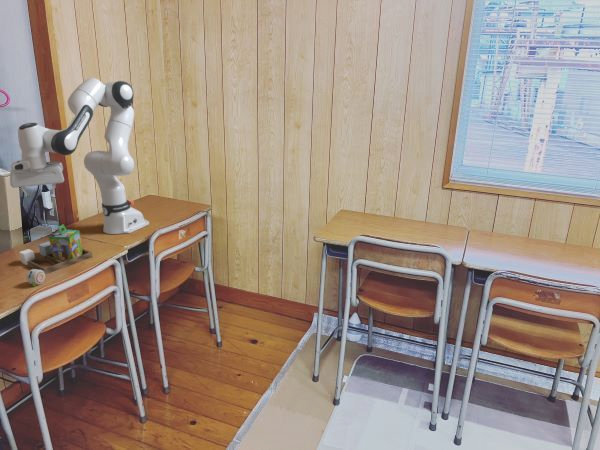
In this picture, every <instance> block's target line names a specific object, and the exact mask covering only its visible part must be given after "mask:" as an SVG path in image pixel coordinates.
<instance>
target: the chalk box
mask: <svg viewBox="0 0 600 450" xmlns="http://www.w3.org/2000/svg"><path fill="white" fill-rule="evenodd" d="M57 229H58V230H57V231H56V232H54V233H52V234H51V235H49V236H48V240H49V241H50V245H51V250H52V255H53V258H55V259H57V260H59V261H61V262H64V261H67V260H70V259H72V258H75V257H78V256H81V255H83V249H84V248H83V246H82V245H83V244H82V237H81V232H80V230H79V229H77V230H76V229H67V228H66V226H65V224H61V225H60V226H58V227H57Z"/></svg>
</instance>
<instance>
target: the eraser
mask: <svg viewBox="0 0 600 450" xmlns="http://www.w3.org/2000/svg"><path fill="white" fill-rule="evenodd" d="M18 253H19V258H20V262H21V264H22V265H25V266H28V262H27V261H29V260H32V259H35V258H36V257H35V252H34V250H32V249H29V248H28V249H25V250H22V251H19V252H18Z"/></svg>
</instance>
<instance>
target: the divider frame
mask: <svg viewBox="0 0 600 450" xmlns="http://www.w3.org/2000/svg"><path fill="white" fill-rule="evenodd" d="M82 249H83V255H81V256H78V257H75V258H72V259H70V260H67V261H64V262H61V261H59V260H57V259H55V258H53V255H52V253H50V254H47V255H44V256H42V255H40V256H39V257H35V259H32V260H29V261H27V262H28V265H27V266H28V267H30V268H31V269H38V270H43V271H44V273H45V275H47V274H50V273H52V272H56V271H59V270H61V269H64V268H67V267H70V266H72V265H74V264H78V263H80V262H83V261H86V260H88V259H91V258H93V253H92V252H91V251H90V250H86V249H84V248H82ZM46 261H47V262H49V263H51V264H53V265H50V266H48V267H44V266H42V265H40V264H41V263H43V262H46Z"/></svg>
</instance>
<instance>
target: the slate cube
mask: <svg viewBox="0 0 600 450" xmlns="http://www.w3.org/2000/svg"><path fill="white" fill-rule="evenodd" d="M38 248H39V253H40V256H44V255H47V254H50V253H52V250H51V245H50V240H49V241H46V242H42V243H39V244H38Z"/></svg>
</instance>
